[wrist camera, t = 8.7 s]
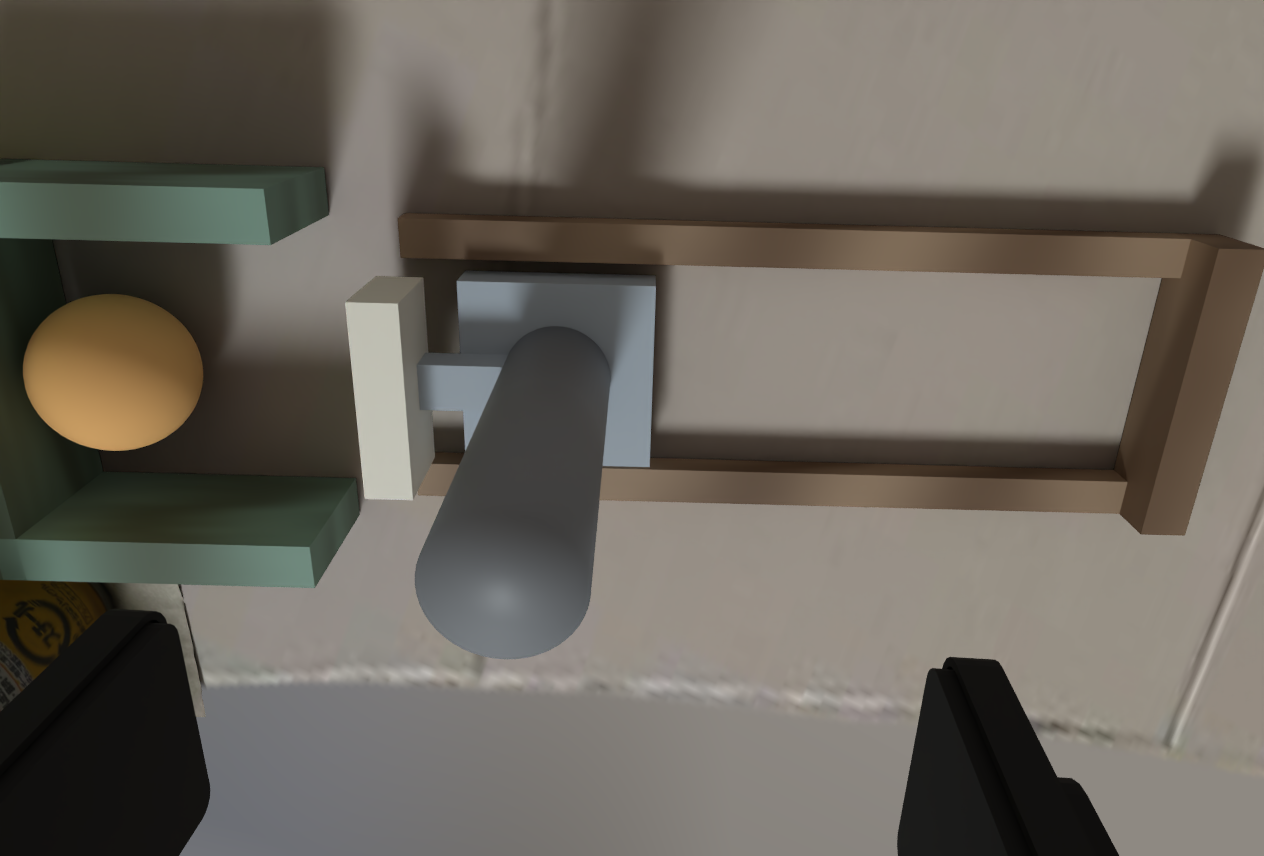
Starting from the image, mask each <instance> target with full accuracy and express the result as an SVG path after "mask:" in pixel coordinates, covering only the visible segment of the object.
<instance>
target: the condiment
mask: <svg viewBox="0 0 1264 856" xmlns="http://www.w3.org/2000/svg"><path fill="white" fill-rule="evenodd" d="M183 600H184V599H183V597H182V596H181V593H180V590H179V587H178V584H146V583H107V582H69V581H30V580H0V712H1V711H2V710H3V709H4V708H5V707H6V706H7V705H8V704H9V703H10V702H11V701H12V700H13V699H14V698H15V697H16V696H17V695H18V694H19V693H20V692H22V691H23V690H24V689H25V688H26V687H27V686H28V685H29V684H30V683H31V682H32V681H33V680H34V679H35V678H36V677H37V676H38V675H39V674H40V673H41V672H42V671H44V670H45V669H46V668H47V667H48V666H49V665H50V664H51V663H52V662H53V661H54V660H55V659H56V658H57V657H58V656H59V655H60V654H61V653H62V652H63V651H64V650H66V649H67V648H68V647H69V646H70V645H71V644H72V643H73V642H74V641H75V640H76V639H77V638H78V637H79V636H80V635H81V634H82V633H83V632H84V631H85V630H86V629H88V628H89V627H90V626H91V625H92V624H93V623H94V622H95V621H96V620H97V619H98V618H99V617H100V616H101V615H102V614H104V613H105V612H107V611H108V610H112V609H127V610H145V611H157V612H160V613H162V615H163V616H164V617H165V618H166V621H167V624H172V625H174V626H175V627H176V628H177V630H178V633H179V637H180V642H181V646H182V651H183V656H184V661H185V666H186V671H187V676H188V681H189V686H190V690H191V695H192V700H193V705H194V710H195V715H196V717H205V710H204V704H203V700H202V697H201V694H202V689H201V684H200V681H199V675H198V670H197V665H196V661H195V658H194V652H193V644H192V640H191V636H190V631H189V627H188V623H187V619H186V615H185V610H184V602H183Z"/></svg>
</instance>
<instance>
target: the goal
mask: <svg viewBox="0 0 1264 856" xmlns="http://www.w3.org/2000/svg"><path fill="white" fill-rule="evenodd" d="M328 215H329V211H328V202H327V192H326V182H325V172H324V167H293V166H255V165H217V164H179V163H141V162H103V161H65V160H28V159H0V580H30V581H69V582H107V583H146V584H184V585H223V586H261V587H300V588H315V587H316V585H317V583H318V582H319V580H320V579H321V577H322V575H323V574H324V572H325V570H326V569H327V567H328V565H329V564H330V562H331V561H332V559H333V557H334V556H335V554H336V552H337V551H338V549H339V547H340V546H341V544H342V543H343V541H344V539H345V538H346V536H347V534H348V533H349V531H350V529H351V528H352V526H353V525H354V523H355V521H356V520H357V518H358V516H359V515H360V513H359V503H358V494H357V484H356V478H331V477H293V476H254V475H216V474H178V473H139V472H103V469H102V464H101V460H100V455H99V451H98V449H95V448H90V447H87V446H84V445H80V444H78V443H76V442H73V441H71V440H69V439H67V438H65V437H64V436H62V435H60V434H59V433H58V432H56V431H55V430H53V429H52V428H51V427H50V426H49V425H48V424H47V423H46V422H45V421H44V420H43V419H42V418H41V417H40V416H39V414H38V413H37V412H36V410H35V409H34V407H33V406H32V404H31V402H30V400H29V398H28V395H27V392H26V389H25V384H24V378H23V361H24V355H25V352H26V349H27V346H28V343H29V341H30V339H31V337H32V335H33V333H34V332H35V331H36V329H37V328H38V327H39V325H40V324H41V323H42V322H43V321H44V320H45V319H46V318H47V317H48V316H49V315H50V314H51V313H53V312H54V311H56V310H57V309H59V308H60V307H62V306H64V305H66V301H65V297H64V292H63V288H62V283H61V279H60V274H59V270H58V265H57V261H56V256H55V252H54V247H53V243H52V239H62V240H100V241H138V242H176V243H214V244H252V245H272V244H274V243H276V242H277V241H279V240H281V239H283V238H285V237H287V236H289V235H291V234H293V233H295V232H297V231H299V230H301V229H303V228H305V227H307V226H308V225H310V224H312V223H314V222H316V221H318V220H320V219H322V218H324V217H326V216H328Z"/></svg>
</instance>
